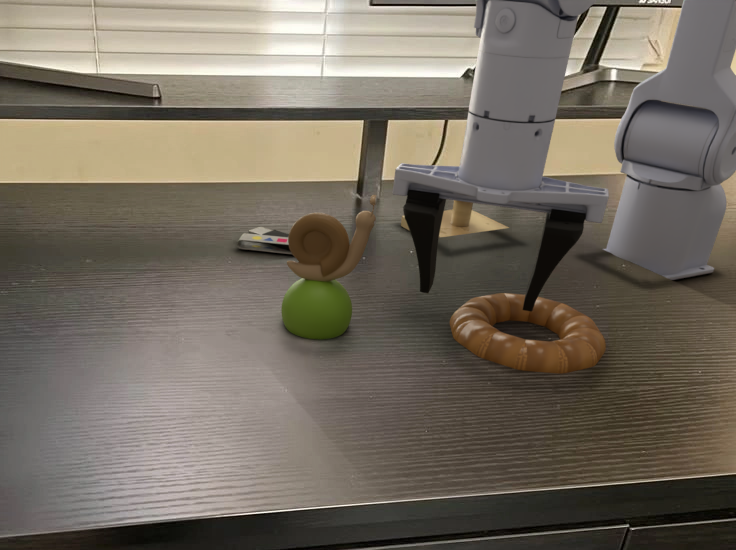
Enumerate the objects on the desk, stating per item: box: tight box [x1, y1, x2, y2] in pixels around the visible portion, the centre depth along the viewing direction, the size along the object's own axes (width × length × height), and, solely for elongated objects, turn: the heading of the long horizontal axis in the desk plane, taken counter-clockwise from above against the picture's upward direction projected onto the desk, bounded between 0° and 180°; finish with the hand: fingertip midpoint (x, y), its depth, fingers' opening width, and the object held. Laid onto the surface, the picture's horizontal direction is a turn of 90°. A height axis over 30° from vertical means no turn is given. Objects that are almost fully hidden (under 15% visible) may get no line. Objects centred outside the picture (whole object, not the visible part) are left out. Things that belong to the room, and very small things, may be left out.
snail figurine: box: [280, 194, 378, 340], centre depth 55 cm, size 5×6×12 cm
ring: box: [449, 292, 607, 375], centre depth 57 cm, size 11×11×3 cm
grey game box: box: [236, 226, 293, 255], centre depth 75 cm, size 9×5×1 cm, turn 49°
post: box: [400, 200, 510, 239], centre depth 80 cm, size 9×9×7 cm
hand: (476, 296), depth 57 cm, fingers open, 7 cm apart
